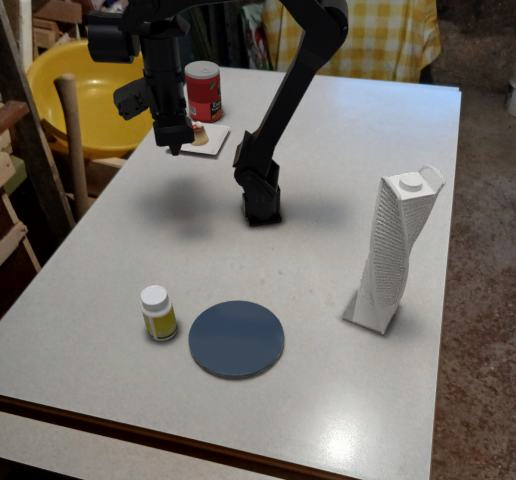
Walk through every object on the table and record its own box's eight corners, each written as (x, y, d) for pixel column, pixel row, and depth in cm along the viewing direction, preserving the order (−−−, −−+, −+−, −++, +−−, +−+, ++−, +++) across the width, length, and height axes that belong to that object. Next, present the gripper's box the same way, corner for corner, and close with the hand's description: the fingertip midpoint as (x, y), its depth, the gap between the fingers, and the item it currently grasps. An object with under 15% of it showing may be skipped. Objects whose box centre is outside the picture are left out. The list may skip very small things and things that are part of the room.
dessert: (164, 152, 113) (161, 131, 109) (182, 124, 120) (179, 104, 116) (216, 159, 111) (214, 138, 107) (230, 130, 118) (229, 110, 114)
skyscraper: (406, 310, 84) (458, 158, 62) (389, 343, 80) (439, 194, 58) (359, 292, 87) (392, 140, 65) (340, 324, 82) (369, 173, 60)
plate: (271, 299, 86) (271, 293, 85) (294, 370, 77) (294, 365, 76) (183, 314, 84) (182, 308, 83) (196, 388, 75) (195, 383, 74)
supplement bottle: (182, 323, 83) (175, 288, 76) (169, 345, 80) (160, 310, 73) (156, 315, 84) (147, 279, 77) (142, 336, 81) (131, 301, 74)
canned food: (218, 125, 120) (214, 77, 111) (185, 121, 121) (180, 74, 112) (225, 109, 125) (223, 62, 116) (194, 105, 126) (189, 59, 117)
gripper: (107, 43, 83) (127, 133, 96) (112, 98, 72) (133, 191, 85) (174, 37, 85) (185, 126, 97) (189, 90, 74) (199, 182, 86)
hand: (175, 154), depth 91 cm, fingers closed
